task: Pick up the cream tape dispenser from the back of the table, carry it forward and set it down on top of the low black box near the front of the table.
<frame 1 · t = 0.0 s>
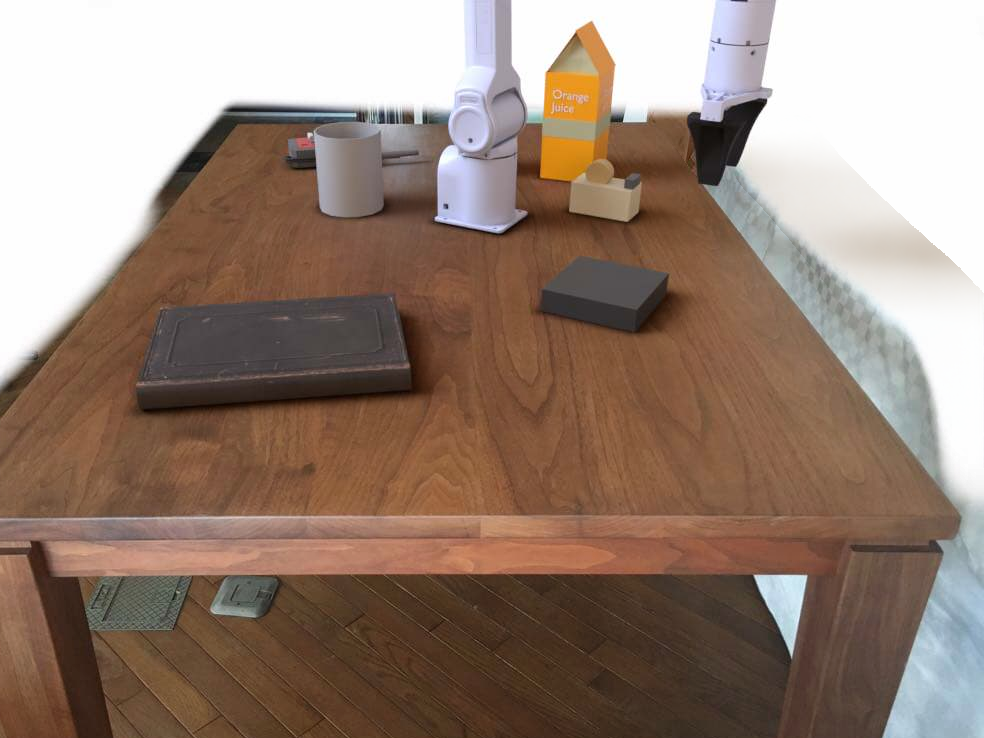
hand: (718, 174, 98), 10 cm above the table, tool pointing down, fingers open, 7 cm apart
walkie-talkie: (350, 161, 137), on the table
soda can: (481, 172, 132), on the table
tape dispenser: (603, 212, 117), on the table
cup: (351, 207, 119), on the table
black box: (604, 302, 94), on the table
hardcover book: (280, 360, 84), on the table
orange juice: (573, 173, 132), on the table
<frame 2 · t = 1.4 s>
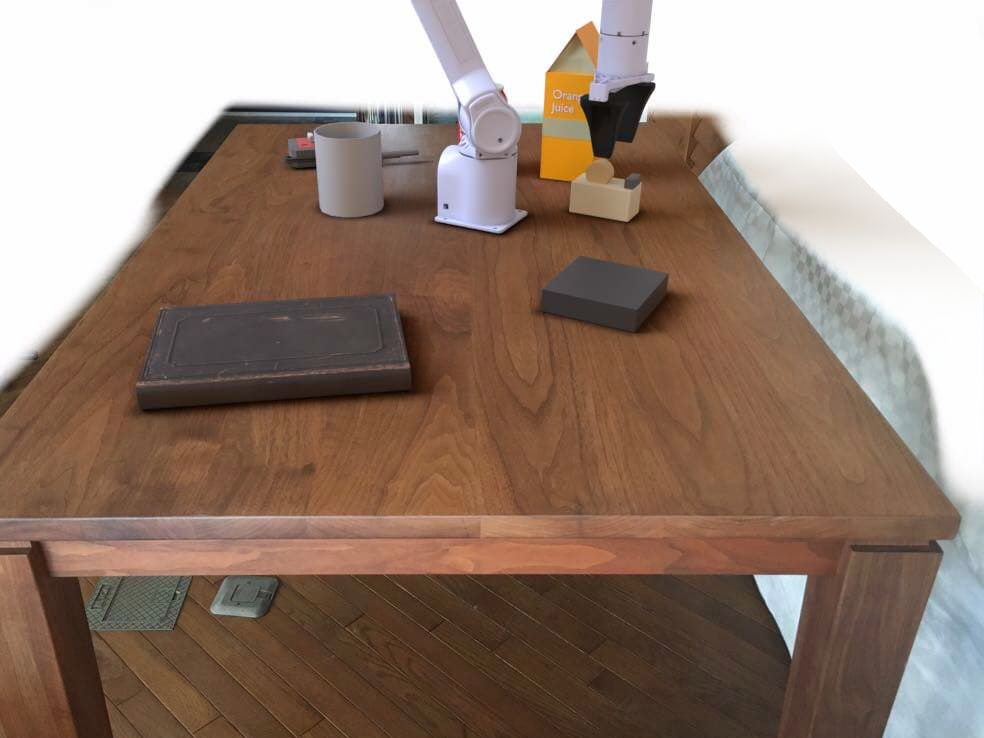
hand: (613, 149, 112), 8 cm above the table, tool pointing down, fingers open, 7 cm apart
nothing on the table moved.
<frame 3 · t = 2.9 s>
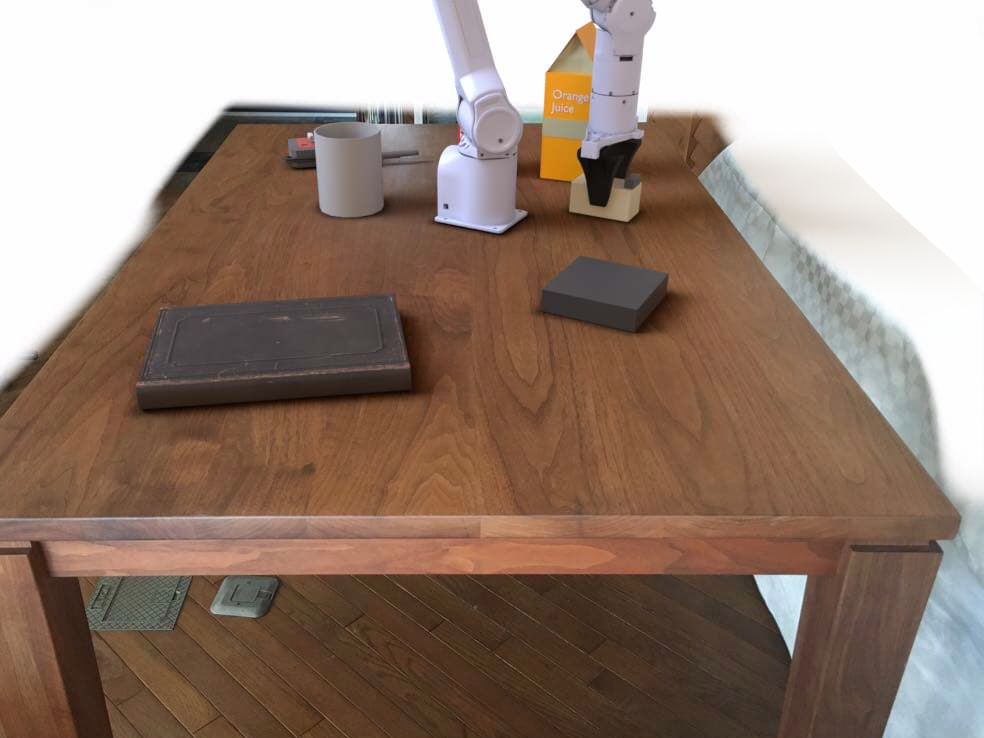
hand: (604, 200, 116), 2 cm above the table, tool pointing down, fingers closed on tape dispenser, 4 cm apart
tape dispenser: (603, 212, 117), on the table, touching gripper
everything else where it was.
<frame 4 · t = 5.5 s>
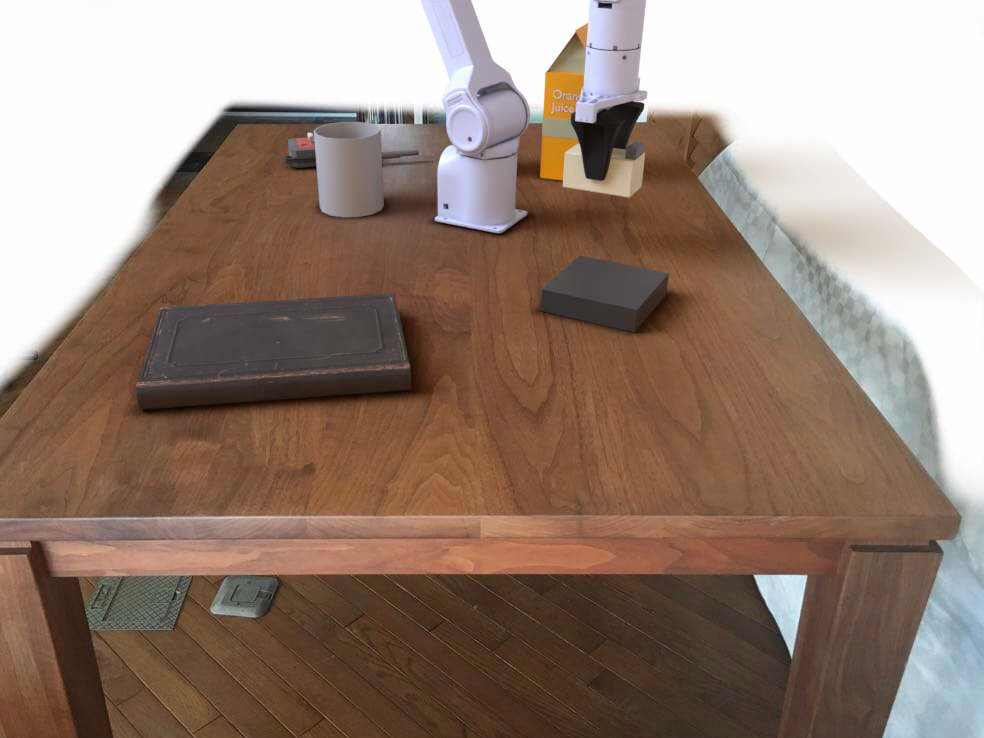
hand: (602, 173, 102), 9 cm above the table, tool pointing down, fingers closed on tape dispenser, 4 cm apart
tape dispenser: (602, 187, 103), point 7 cm above the table, touching gripper
everything else where it was.
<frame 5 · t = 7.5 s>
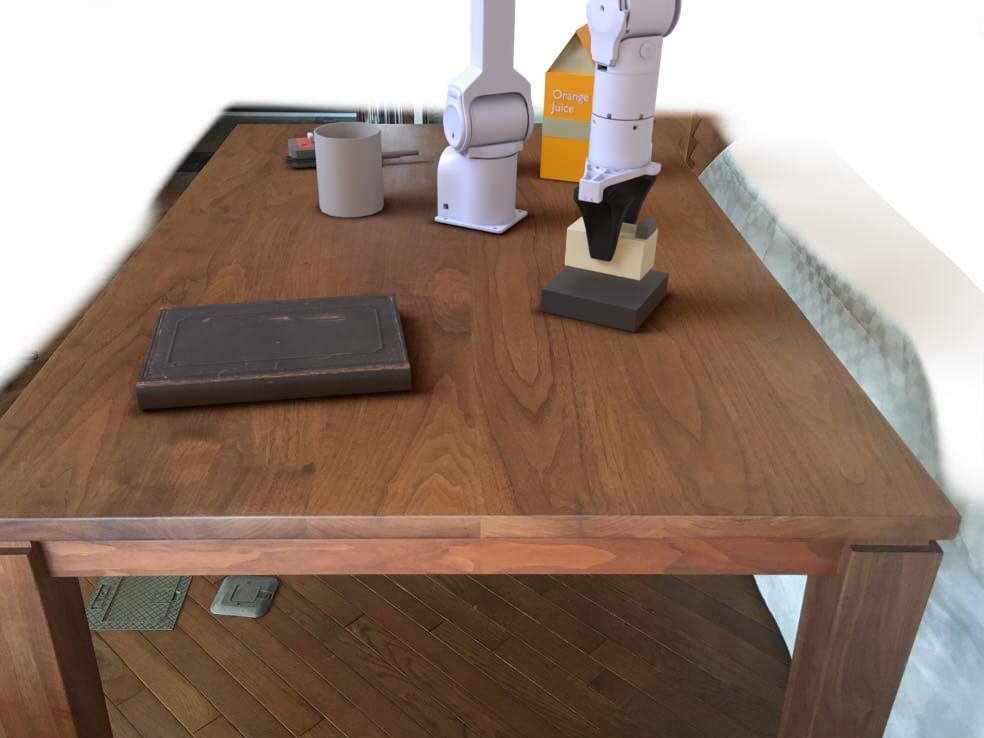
hand: (609, 251, 91), 6 cm above the table, tool pointing down, fingers closed on tape dispenser, 4 cm apart
tape dispenser: (609, 265, 91), point 4 cm above the table, touching gripper
everything else where it was.
when the fingers open (4 cm above the table, at t = 8.5 s): tape dispenser stays where it is, resting on black box.
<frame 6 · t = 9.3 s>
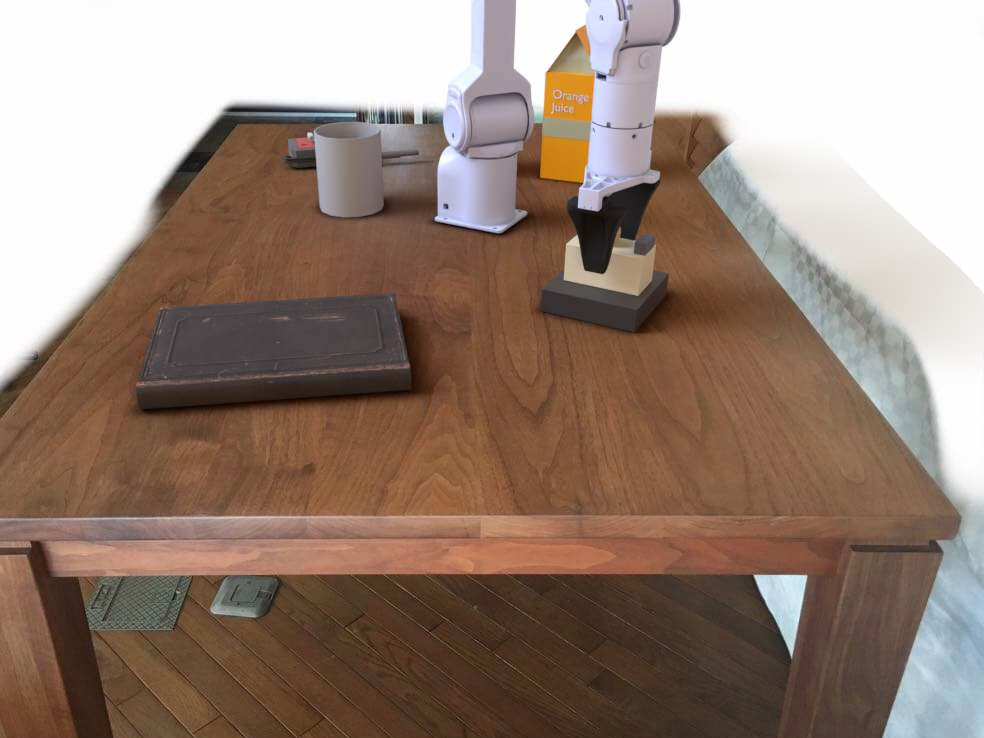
hand: (608, 258, 91), 5 cm above the table, tool pointing down, fingers open, 7 cm apart
tape dispenser: (607, 280, 92), point 2 cm above the table, touching black box
everything else where it was.
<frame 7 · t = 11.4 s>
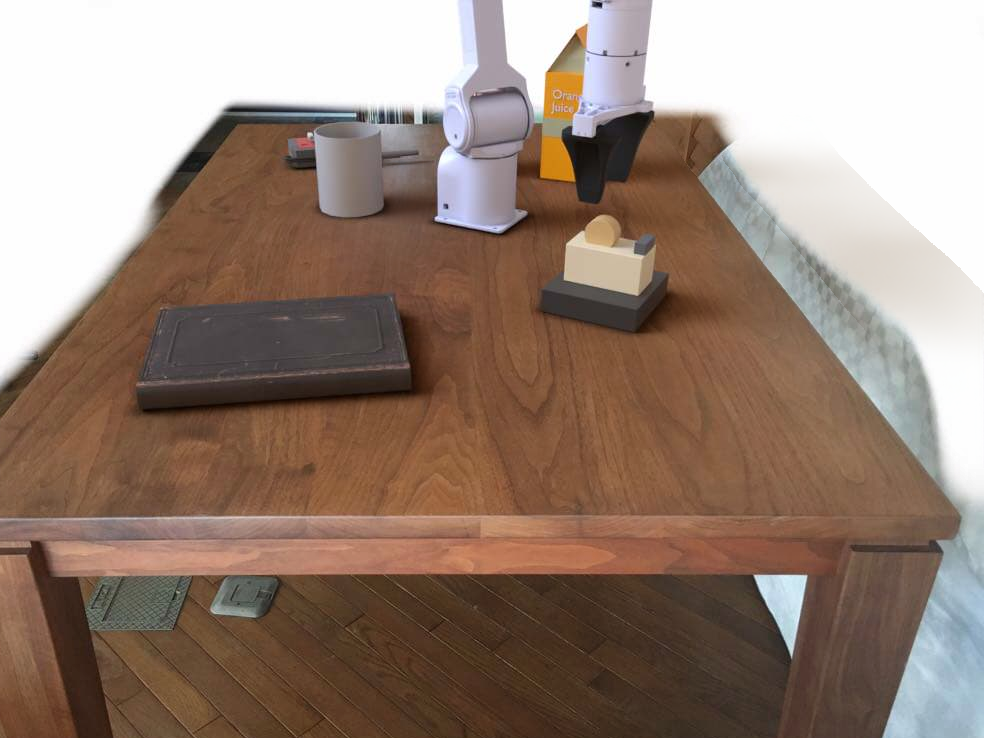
hand: (603, 191, 92), 10 cm above the table, tool pointing down, fingers open, 7 cm apart
nothing on the table moved.
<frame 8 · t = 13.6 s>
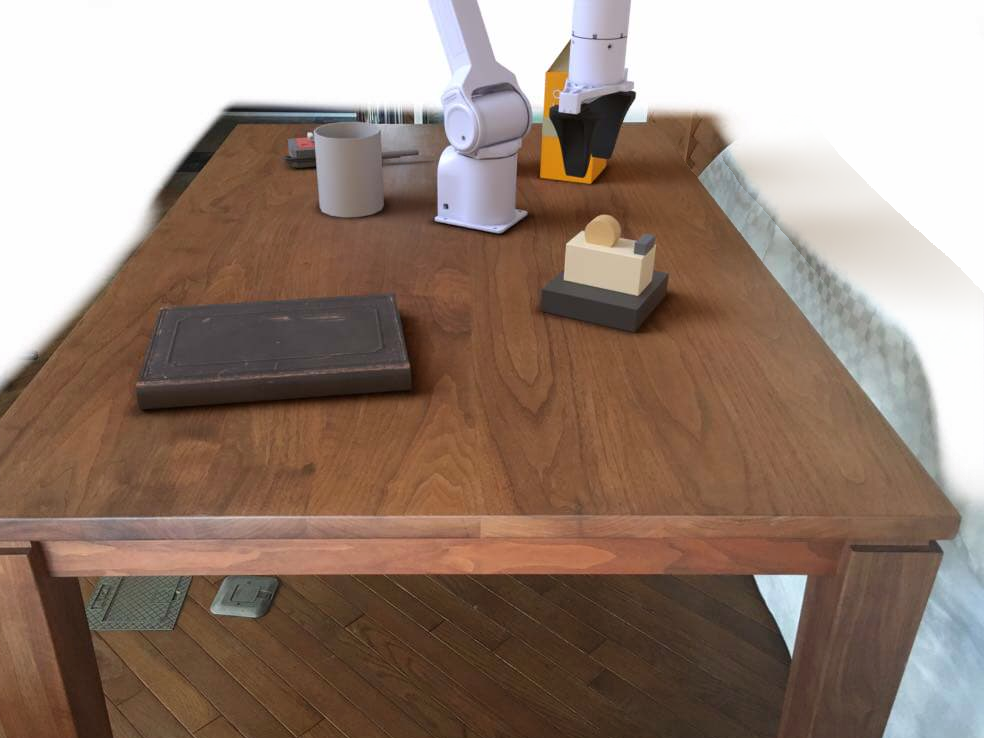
hand: (588, 166, 99), 10 cm above the table, tool pointing down, fingers open, 7 cm apart
nothing on the table moved.
at the end: tape dispenser inside the target area on the black box (0.1 cm from its centre), point 2.5 cm above the black box's base; tape dispenser tilted 0°; the gripper is holding nothing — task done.
